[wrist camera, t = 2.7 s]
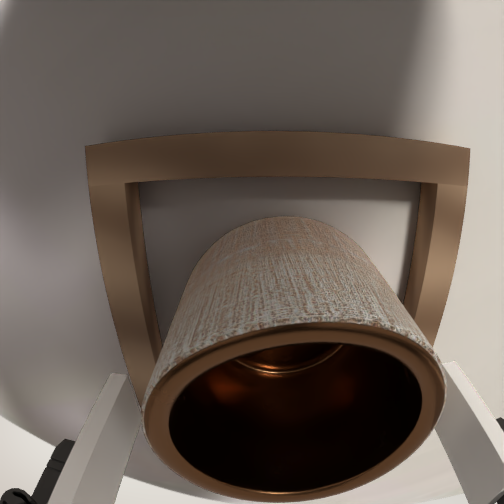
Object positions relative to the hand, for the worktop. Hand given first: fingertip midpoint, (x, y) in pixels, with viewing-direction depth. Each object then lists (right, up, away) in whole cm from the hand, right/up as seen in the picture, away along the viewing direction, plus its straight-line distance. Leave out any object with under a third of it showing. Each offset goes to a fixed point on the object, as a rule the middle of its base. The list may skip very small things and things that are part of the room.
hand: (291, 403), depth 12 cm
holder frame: (0, +3, +6) cm, 7 cm away
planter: (0, +3, +7) cm, 7 cm away
